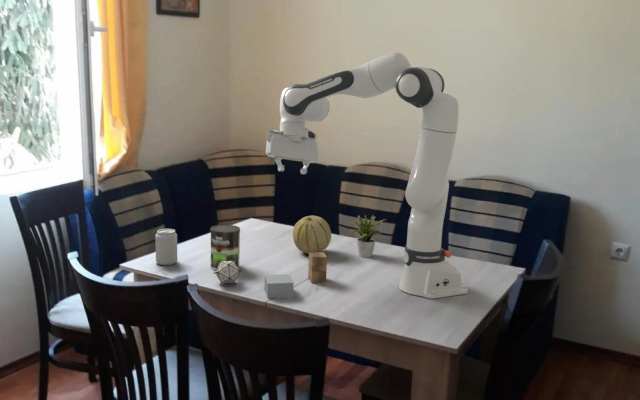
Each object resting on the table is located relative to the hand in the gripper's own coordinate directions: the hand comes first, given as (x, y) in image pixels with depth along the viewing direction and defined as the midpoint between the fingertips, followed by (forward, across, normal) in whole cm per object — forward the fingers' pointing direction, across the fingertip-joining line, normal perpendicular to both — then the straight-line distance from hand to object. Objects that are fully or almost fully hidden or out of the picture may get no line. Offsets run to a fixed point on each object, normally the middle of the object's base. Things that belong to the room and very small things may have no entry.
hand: (292, 172), depth 221 cm
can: (+30, -30, +36) cm, 56 cm away
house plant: (+28, +38, +5) cm, 47 cm away
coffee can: (+32, -14, +22) cm, 41 cm away
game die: (+38, -21, +8) cm, 44 cm away
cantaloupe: (+26, +22, +19) cm, 39 cm away
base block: (+41, -11, -8) cm, 43 cm away
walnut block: (+37, +6, -5) cm, 38 cm away
